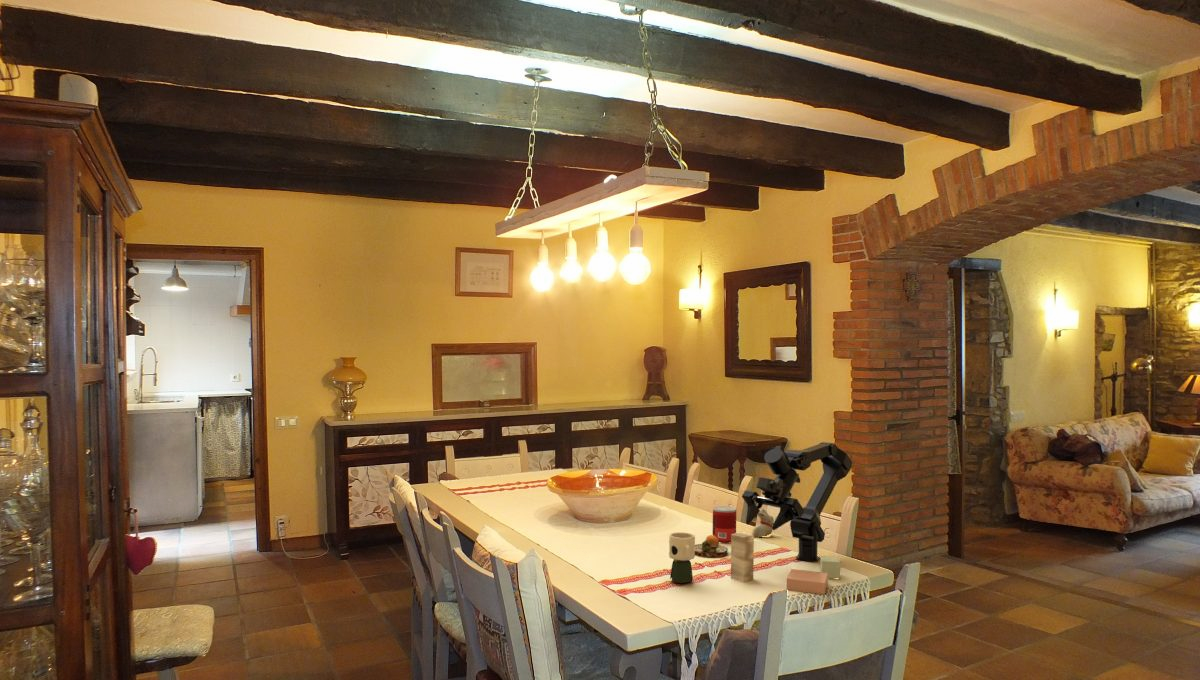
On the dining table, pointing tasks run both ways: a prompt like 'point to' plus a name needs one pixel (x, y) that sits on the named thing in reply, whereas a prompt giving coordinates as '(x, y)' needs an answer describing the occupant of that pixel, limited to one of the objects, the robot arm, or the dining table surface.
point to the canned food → (724, 523)
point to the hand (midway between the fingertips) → (759, 526)
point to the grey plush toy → (763, 524)
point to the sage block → (830, 566)
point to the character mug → (681, 556)
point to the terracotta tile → (807, 581)
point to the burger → (711, 548)
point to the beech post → (742, 556)
